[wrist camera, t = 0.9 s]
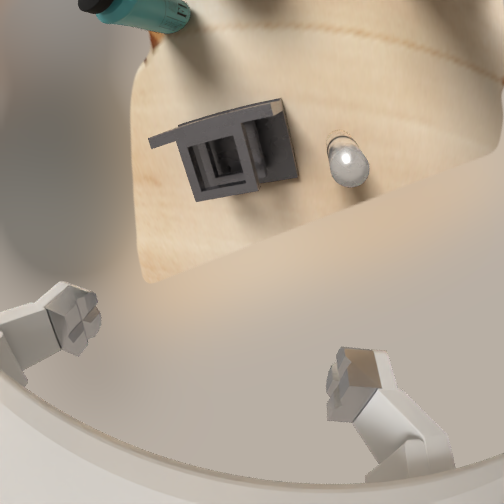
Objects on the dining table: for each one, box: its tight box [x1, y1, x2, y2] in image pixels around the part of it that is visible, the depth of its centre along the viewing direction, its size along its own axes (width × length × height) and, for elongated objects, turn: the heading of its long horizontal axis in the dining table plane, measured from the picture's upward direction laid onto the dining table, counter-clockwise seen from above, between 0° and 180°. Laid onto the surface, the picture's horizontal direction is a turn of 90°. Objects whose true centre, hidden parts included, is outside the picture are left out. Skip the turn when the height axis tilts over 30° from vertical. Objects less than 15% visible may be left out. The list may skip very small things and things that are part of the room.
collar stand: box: [148, 98, 298, 202], centre depth 37 cm, size 16×12×10 cm
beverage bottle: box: [78, 0, 190, 34], centre depth 23 cm, size 6×7×20 cm
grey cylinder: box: [326, 130, 369, 187], centre depth 32 cm, size 4×4×14 cm
